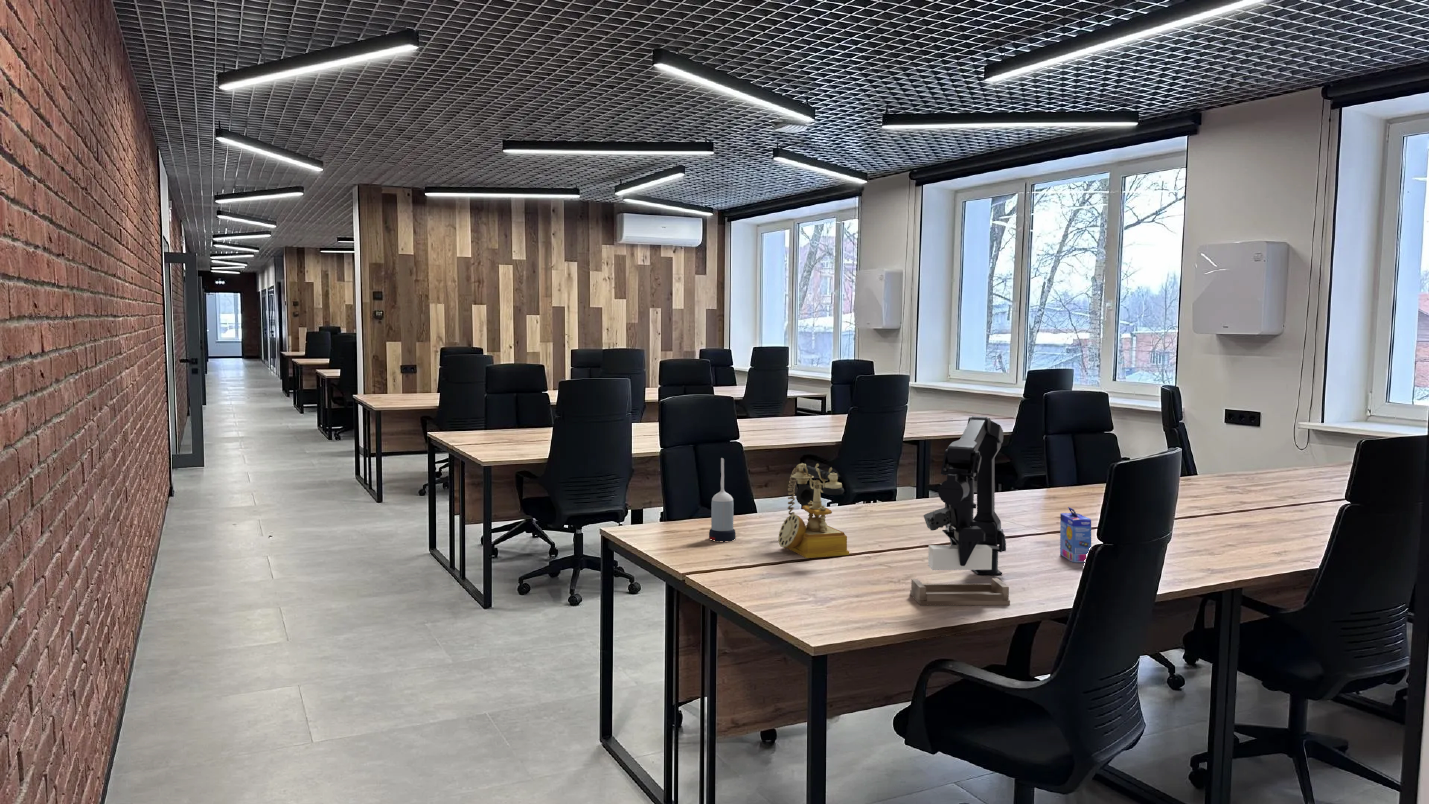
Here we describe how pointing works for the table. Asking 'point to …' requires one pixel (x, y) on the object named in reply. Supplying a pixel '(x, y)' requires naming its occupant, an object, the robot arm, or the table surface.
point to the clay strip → (949, 558)
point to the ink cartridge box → (1074, 536)
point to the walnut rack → (960, 593)
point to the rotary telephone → (816, 533)
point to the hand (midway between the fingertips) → (959, 563)
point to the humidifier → (722, 514)
